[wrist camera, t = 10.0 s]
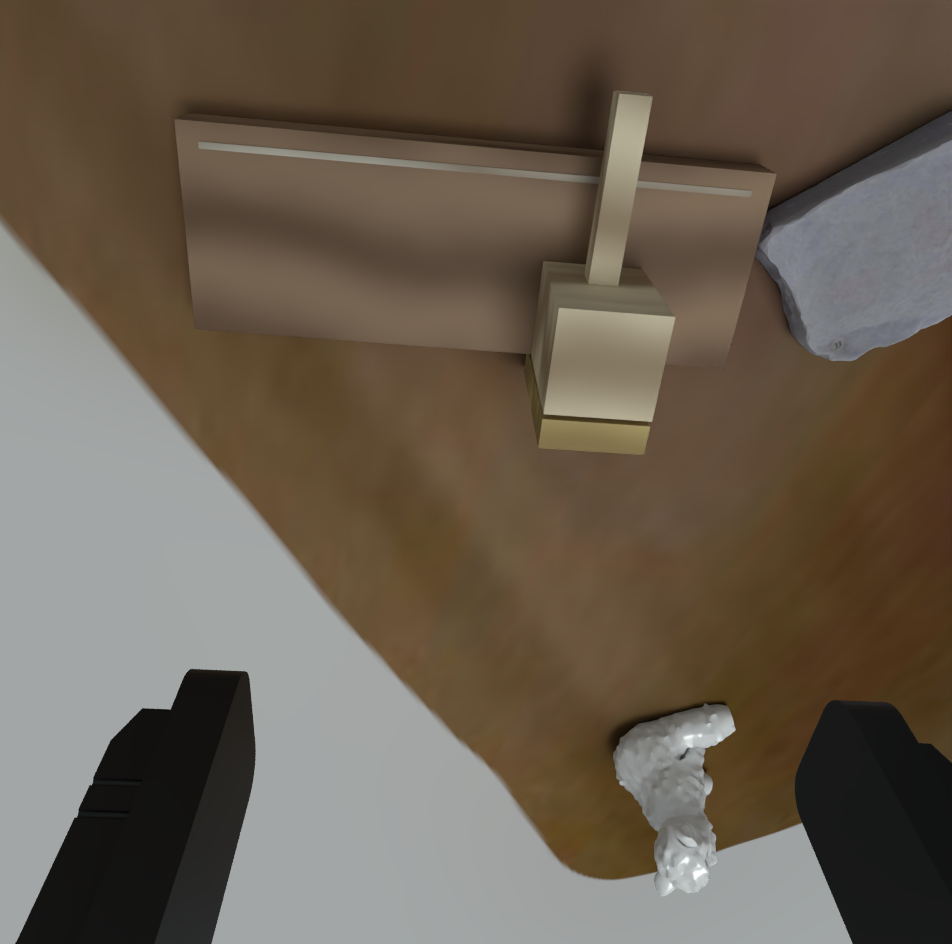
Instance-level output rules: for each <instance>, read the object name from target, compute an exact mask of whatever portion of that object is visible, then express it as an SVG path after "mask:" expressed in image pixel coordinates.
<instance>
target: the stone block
mask: <svg viewBox="0 0 952 944" xmlns="http://www.w3.org/2000/svg"><path fill="white" fill-rule="evenodd" d="M755 258H756V259H758V260H759V261H760V263H761V264H762V265H763V266H764V267H765V268H766V270H767V272H768V274H769V275H770V276H771V278H772V279H773V280H774V281H775V282H777V284H778V286H779V288H780V290H781V297H782V302H783V311H784V313H785V315H786V318H787V320H788V323H789V328H790V330H791V333H792V335H793V336H794V338H795V339H796V340H797V341H798V342H799V344H801V345H803V346H804V347H805V348H806V349H807V350H808V351H809V352H811V353H813V354H814V355H819V356H821V357H823V358H826V359H829V360H831V361H852V360H855V359H857V358H859V357H860V356H861V355H863V354H864V353H866V352H867V351H868V350H871V349H873V348H876V347H887V346H890V345H892V344H895V343H897V342H900V341H902V340H905V339H907V338H909V337H910V336H912V335H913V334H915V333H917V332H918V331H919V330H920V329H923V328H927V327H929V326H931V325H934V324H937V323H939V322H940V321H942V320H944V319H945V318H947V317H949V316H951V315H952V111H950V112H948V113H946V114H944V115H942V116H941V117H938V118H936V119H934V120H933V121H931V122H929V123H927V124H926V125H924V126H922V127H920V128H918V129H917V130H915V131H913V132H911V133H909V134H908V135H906V136H904V137H902V138H900V139H899V140H897V141H895V142H893V143H891V144H890V145H888V146H886V147H884V148H882V149H881V150H879V151H877V152H875V153H873V154H871V155H869V156H868V157H866V158H864V159H862V160H860V161H859V162H857V163H855V164H854V165H852V166H850V167H848V168H846V169H844V170H842V171H840V172H838V173H837V174H835V175H833V176H831V177H829V178H827V179H826V180H824V181H822V182H821V183H819V184H818V185H816V186H815V187H812V188H810V189H808V190H806V191H804V192H802V193H800V194H799V195H797V196H795V197H793V198H791V199H789V200H787V201H785V202H784V203H782V204H780V205H778V206H776V207H775V208H773V209H771V210H769V211H767V212H766V216H765V220H764V223H763V227H762V231H761V235H760V238H759V242H758V246H757V249H756V253H755Z"/></svg>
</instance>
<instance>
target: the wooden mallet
mask: <svg viewBox="0 0 952 944" xmlns="http://www.w3.org/2000/svg"><path fill="white" fill-rule="evenodd" d="M652 98H653V97H652V96H650V95H648V94H646V93H637V92H627V91H616V90H614V91H613V97H612V104H611V110H610V116H609V122H608V129H607V135H606V141H605V148H604V154H603V160H602V166H601V173H600V179H599V185H598V191H597V198H596V204H595V210H594V217H593V223H592V229H591V235H590V242H589V248H588V254H587V260H586V265H585V264H573V263H561V262H549V261H543V268H542V276H541V284H540V291H539V299H538V306H537V314H536V322H535V329H534V337H533V344H532V352H531V354H526V360H525V368H524V372H525V378H526V383H527V389H528V394H529V400H530V405H531V411H532V416H533V422H534V427H535V433H536V439H537V444H538V448H548V449H563V450H578V451H593V452H608V453H622V454H637V455H644V452H645V447H646V443H647V438H648V434H649V430H650V425H649V423H648V422H652V419H653V415H654V410H655V406H656V402H657V397H658V393H659V388H660V384H661V379H662V375H663V371H664V366H665V362H666V357H667V353H668V348H669V344H670V339H671V335H672V331H673V326H674V322H675V315H674V314H673V313H672V311H671V310H670V308H669V307H668V305H667V304H666V302H665V301H664V300H663V298H662V297H661V295H660V294H659V292H658V291H657V289H656V288H655V287H654V285H653V284H652V282H651V281H650V279H649V278H648V277H647V275H646V274H645V272H644V271H643V269H634V268H622V262H623V257H624V251H625V246H626V240H627V235H628V229H629V224H630V219H631V213H632V208H633V202H634V197H635V191H636V186H637V180H638V175H639V169H640V164H641V158H642V153H643V148H644V142H645V137H646V131H647V126H648V120H649V115H650V109H651V104H652Z"/></svg>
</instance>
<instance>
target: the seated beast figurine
mask: <svg viewBox="0 0 952 944" xmlns="http://www.w3.org/2000/svg"><path fill="white" fill-rule="evenodd" d="M734 731H735V727H734V722H733V718H732V715H731V713H730V710H729V708H728V706H725V705H721V704H716V705H707V704H704V706H703V707H700V708H694V709H691V710H687V711H683V712H679V713H674V714H672V715H669V716H665V717H661V718H659V719H658V720H654V721H649V722H644V723H639V724H638V725H636V726H635V727H634V728H633V729H631V730H630V731H629V732H628V733H627V734H625V735H624V736H623V737H621V738H620V741H619V745H618V746H617V747H616V750H615V751H614V753H613V760H614V763H615V769H616V778H617V779H618V780H620V782H619V784H620V785H623V786H624V787H625V789H626V790H628V791H629V792H631V793H632V794H633V795H634V798H635V800H638V802H639V804H640V805H641V806H642V808H643V810H642V812H643V814H644V815H645V816H646V818H647V820H648V821H649V824H650V825H651V826H652V827H654V829H655V830H656V831H658V837H657V839H656V841H655V843H654V859H655V861H656V863H657V868H658V872H657V874H656V875H655V878H654V882H655V886H656V889H657V891H658V893H659V894H660V895H661V896H666V895H668V894H670V893H671V892H672V891H673V890H674V889H675V888H679V889H681V890H682V891H685V892H686V893H688V894H690V893H691V892H694V893H697V892H699V890H700V888H702V887H705V886H706V885H707V882H708V881H709V879H710V878H709V875H708V874H709V870H710V866H713V865H715V864H717V862H718V859H717V856H716V855H715V853H716V849H715V847H716V846H715V841H716V836H715V834H714V833H713V832H711V829H712V828H713V825H712V824H711V823H710V822H709V821H708V819H707V816H706V815H705V813H704V811H703V810H704V808H705V805H704V804H705V799H706V795H709V793H710V792H711V790H712V786H713V782H712V778H711V777H710V776H709V775H708V774H706V773H704V770H703V768H702V764H703V763H704V757H703V756H704V753H705V749H704V748H708V747H710V746H711V745H712V746H715V745H717V744H718V743H719V742H720V741H723V740H724V739H725V738H726V737H727V736H729V735H731V734H732V733H733V732H734Z"/></svg>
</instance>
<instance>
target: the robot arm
mask: <svg viewBox="0 0 952 944" xmlns="http://www.w3.org/2000/svg"><path fill="white" fill-rule="evenodd" d="M254 768H255V736H254V725H253V714H252V703H251V692H250V681H249V676H248V673H247V672H245V671H222V670H200V669H190V670H189V671H188V672H187V673H186V675H185V676H184V678H183V681H182V683H181V686H180V688H179V690H178V693H177V696H176V698H175V701H174V703H173V705H172V708H171V710H167V709H145V708H143V709H141V711H139V712H138V714H137V715H136V716H134V717H133V718H132V720H130V721H129V723H128V724H127V725H126V726H125V727H124V728H123V729H122V730H121V731H120V732H119V733H118V734H117V735H116V736H115V737H114V738H113V739H112V740H111V741H110V744H109V745H108V748H107V750H106V752H105V754H104V756H103V758H102V761H101V763H100V765H99V767H98V769H97V771H96V773H95V775H94V778H93V779H94V780H93V784H92V786H91V785H90V786H89V788H88V790H87V792H86V795H85V797H84V799H83V801H82V803H81V805H80V807H79V813H78V816H77V818H74V820H73V822H72V825H71V827H70V829H69V831H68V833H67V835H66V837H65V839H64V842H63V844H62V846H61V848H60V850H59V852H58V854H57V857H56V859H55V861H54V863H53V865H52V867H51V869H50V872H49V874H48V876H47V878H46V880H45V882H44V885H43V887H42V889H41V891H40V893H39V895H38V897H37V899H36V902H35V904H34V906H33V908H32V910H31V912H30V914H29V917H28V919H27V921H26V923H25V925H24V927H23V929H22V931H21V933H20V936H19V938H18V940H17V942H16V943H15V944H211V943H212V939H213V935H214V931H215V928H216V924H217V920H218V916H219V912H220V908H221V905H222V901H223V897H224V893H225V889H226V885H227V882H228V878H229V874H230V870H231V866H232V862H233V859H234V855H235V851H236V847H237V843H238V839H239V836H240V832H241V828H242V824H243V820H244V817H245V813H246V809H247V805H248V801H249V797H250V793H251V788H252V783H253V776H254ZM795 797H796V804H797V809H798V812H799V815H800V818H801V821H802V823H803V825H804V828H805V830H806V832H807V835H808V837H809V840H810V842H811V845H812V847H813V849H814V851H815V854H816V857H817V859H818V861H819V864H820V866H821V869H822V871H823V873H824V876H825V878H826V881H827V883H828V885H829V888H830V890H831V893H832V895H833V897H834V900H835V902H836V905H837V907H838V909H839V912H840V914H841V917H842V919H843V921H844V924H845V926H846V929H847V931H848V933H849V936H850V938H851V941H852V943H853V944H952V763H951V762H950V761H949V760H948V759H947V758H946V757H944V756H943V755H942V754H941V753H940V752H939V751H938V750H937V749H936V748H935V747H934V746H933V745H931V744H923V743H918V741H917V740H916V738H915V736H914V735H913V733H912V732H911V730H910V728H909V727H908V725H907V723H906V722H905V720H904V719H903V717H902V715H901V714H900V713H899V711H898V710H897V709H896V708H895V707H894V706H893V705H891V704H889V703H885V702H864V701H842V700H833V701H831V702H829V703H828V704H827V705H826V707H825V709H824V710H823V713H822V715H821V717H820V720H819V722H818V724H817V726H816V729H815V731H814V733H813V735H812V738H811V740H810V742H809V744H808V747H807V749H806V751H805V754H804V756H803V758H802V760H801V763H800V765H799V767H798V770H797V773H796V779H795Z"/></svg>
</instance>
